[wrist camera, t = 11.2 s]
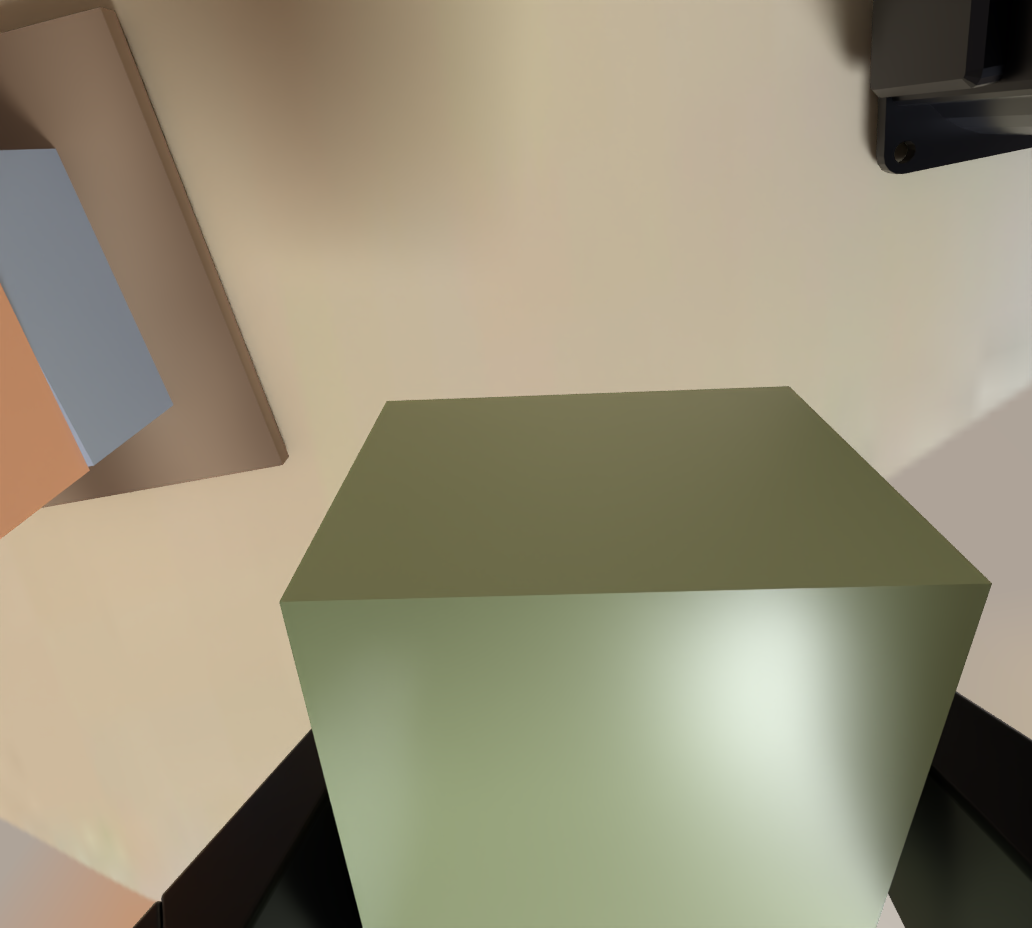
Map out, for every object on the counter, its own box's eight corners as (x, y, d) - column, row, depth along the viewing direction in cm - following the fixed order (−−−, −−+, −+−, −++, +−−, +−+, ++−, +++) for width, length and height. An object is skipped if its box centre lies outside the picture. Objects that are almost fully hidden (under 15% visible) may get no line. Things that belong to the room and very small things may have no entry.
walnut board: (114, 11, 16) (100, 6, 15) (288, 456, 21) (282, 465, 20) (-247, 105, 17) (-272, 104, 16) (5, 507, 22) (-8, 516, 21)
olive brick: (788, 386, 8) (991, 583, 5) (732, 775, 11) (827, 1074, 8) (386, 401, 8) (278, 601, 5) (440, 780, 11) (400, 1073, 8)
